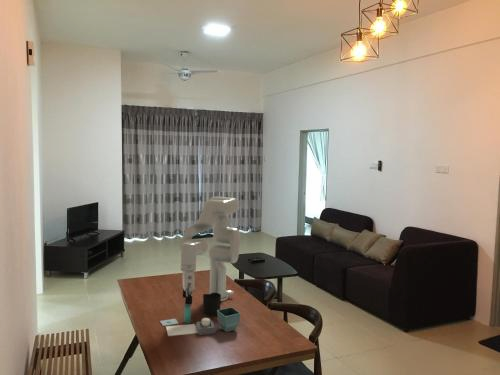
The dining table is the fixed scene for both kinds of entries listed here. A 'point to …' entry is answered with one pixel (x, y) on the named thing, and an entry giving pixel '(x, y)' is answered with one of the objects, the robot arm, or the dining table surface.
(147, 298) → the dining table surface
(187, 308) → the marker
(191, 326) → the paper
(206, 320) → the cream ball
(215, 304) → the pen holder
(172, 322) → the card
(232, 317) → the flower pot
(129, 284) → the dining table surface
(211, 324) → the button box
